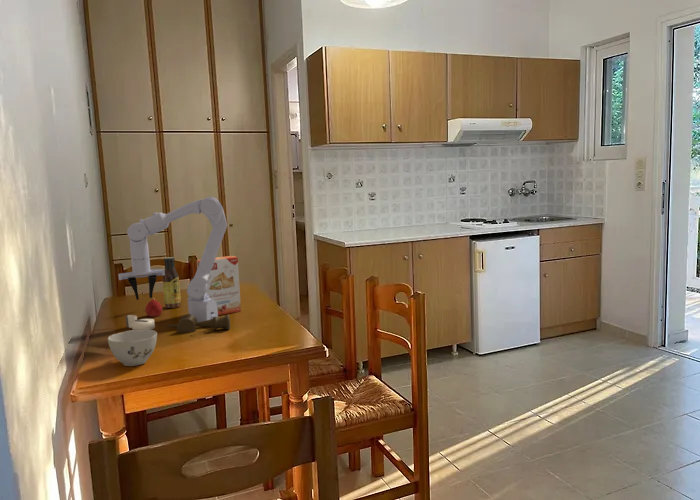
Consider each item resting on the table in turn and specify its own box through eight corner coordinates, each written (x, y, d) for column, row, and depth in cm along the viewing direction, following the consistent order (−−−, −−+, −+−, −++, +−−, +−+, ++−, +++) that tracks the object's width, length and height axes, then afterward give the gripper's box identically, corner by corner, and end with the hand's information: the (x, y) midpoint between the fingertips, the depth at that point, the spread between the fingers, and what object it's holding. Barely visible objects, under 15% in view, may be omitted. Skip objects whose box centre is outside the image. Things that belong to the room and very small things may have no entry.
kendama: (230, 334, 177) (165, 339, 173) (230, 327, 186) (169, 332, 182) (229, 316, 176) (164, 320, 172) (229, 310, 186) (168, 314, 182)
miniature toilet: (159, 326, 183) (158, 314, 183) (143, 332, 177) (142, 319, 177) (136, 324, 188) (135, 312, 187) (120, 329, 182) (118, 317, 181)
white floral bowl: (162, 365, 148) (159, 336, 147) (112, 374, 142) (108, 344, 141) (154, 350, 161) (152, 324, 160) (108, 358, 155) (105, 331, 154)
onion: (142, 320, 198) (140, 299, 197) (155, 316, 204) (153, 295, 203) (154, 322, 196) (152, 300, 195) (166, 318, 201) (164, 296, 200)
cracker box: (206, 318, 198) (201, 260, 195) (200, 315, 202) (195, 259, 200) (242, 311, 206) (238, 256, 203) (235, 308, 211) (231, 254, 208)
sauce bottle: (178, 308, 216) (173, 258, 213) (162, 309, 216) (157, 259, 213) (183, 304, 222) (179, 256, 220) (168, 305, 222) (163, 256, 220)
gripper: (161, 255, 191) (165, 293, 193) (116, 259, 185) (120, 299, 187) (164, 257, 185) (167, 297, 186) (117, 262, 179) (121, 302, 180)
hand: (144, 298), depth 186 cm, fingers open, 4 cm apart
